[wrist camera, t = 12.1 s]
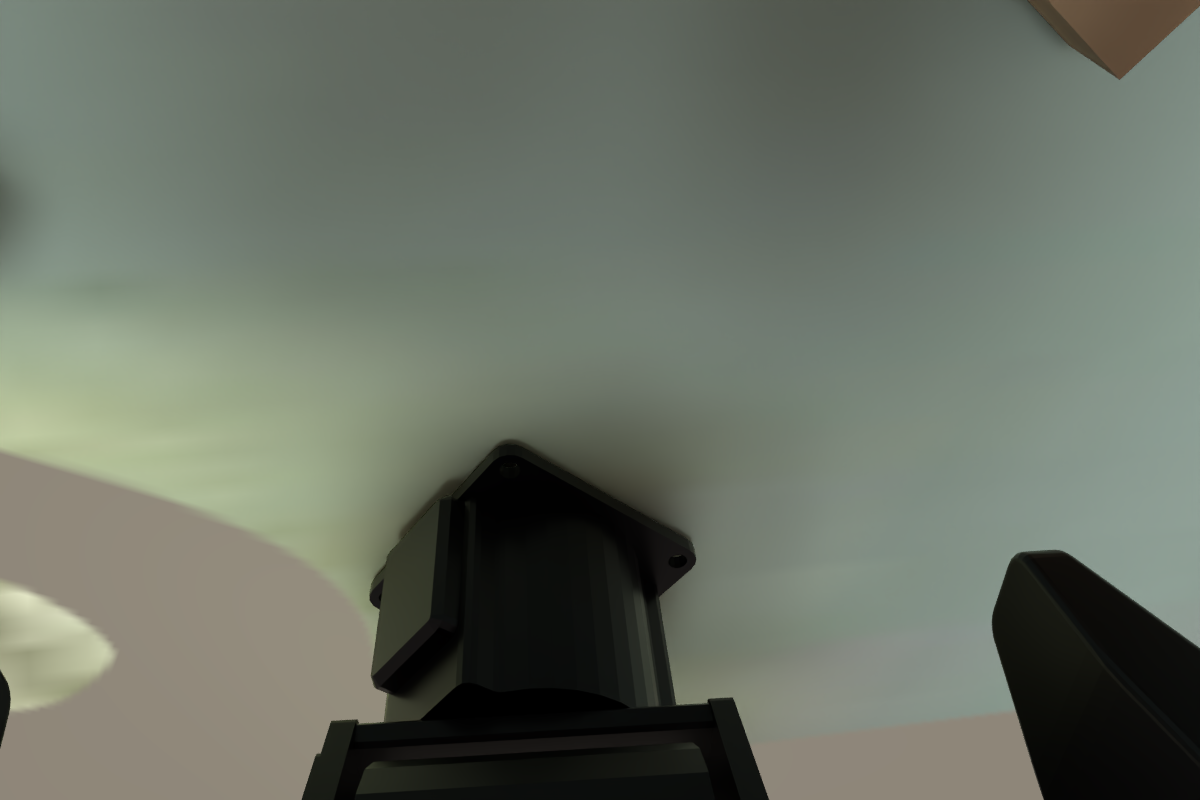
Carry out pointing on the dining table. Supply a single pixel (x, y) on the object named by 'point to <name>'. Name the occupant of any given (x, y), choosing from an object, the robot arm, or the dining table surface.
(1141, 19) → the plate
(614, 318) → the dining table surface
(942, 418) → the dining table surface
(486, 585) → the robot arm
